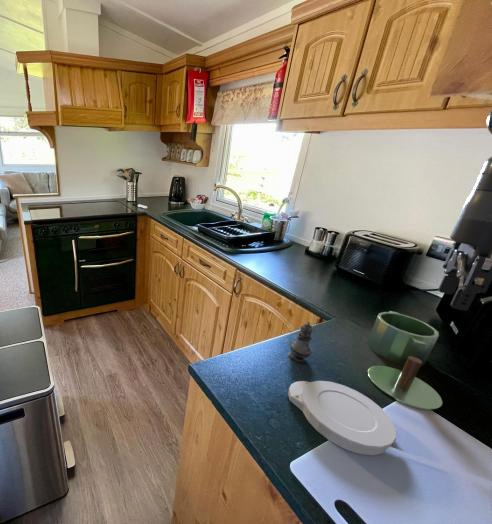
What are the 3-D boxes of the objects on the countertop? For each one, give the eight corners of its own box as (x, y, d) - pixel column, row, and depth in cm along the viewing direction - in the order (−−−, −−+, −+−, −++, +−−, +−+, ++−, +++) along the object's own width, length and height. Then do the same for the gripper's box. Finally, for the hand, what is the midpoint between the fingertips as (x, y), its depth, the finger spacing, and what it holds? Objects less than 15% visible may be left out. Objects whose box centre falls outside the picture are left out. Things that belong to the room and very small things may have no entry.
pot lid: (423, 379, 78) (437, 351, 75) (454, 421, 65) (472, 389, 62) (360, 362, 83) (370, 336, 80) (376, 398, 70) (390, 368, 67)
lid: (303, 373, 77) (305, 364, 76) (398, 425, 63) (403, 415, 62) (273, 406, 66) (276, 396, 65) (381, 477, 52) (387, 465, 51)
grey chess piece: (283, 357, 83) (293, 321, 79) (290, 348, 87) (301, 314, 83) (305, 367, 79) (317, 330, 75) (312, 358, 83) (323, 322, 79)
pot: (408, 343, 94) (421, 315, 91) (437, 380, 78) (455, 348, 74) (359, 331, 99) (369, 304, 95) (377, 365, 82) (390, 333, 79)
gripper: (545, 228, 43) (494, 322, 49) (503, 215, 54) (465, 293, 60) (474, 220, 47) (434, 308, 52) (449, 210, 58) (418, 283, 64)
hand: (451, 300), depth 56 cm, fingers open, 8 cm apart
